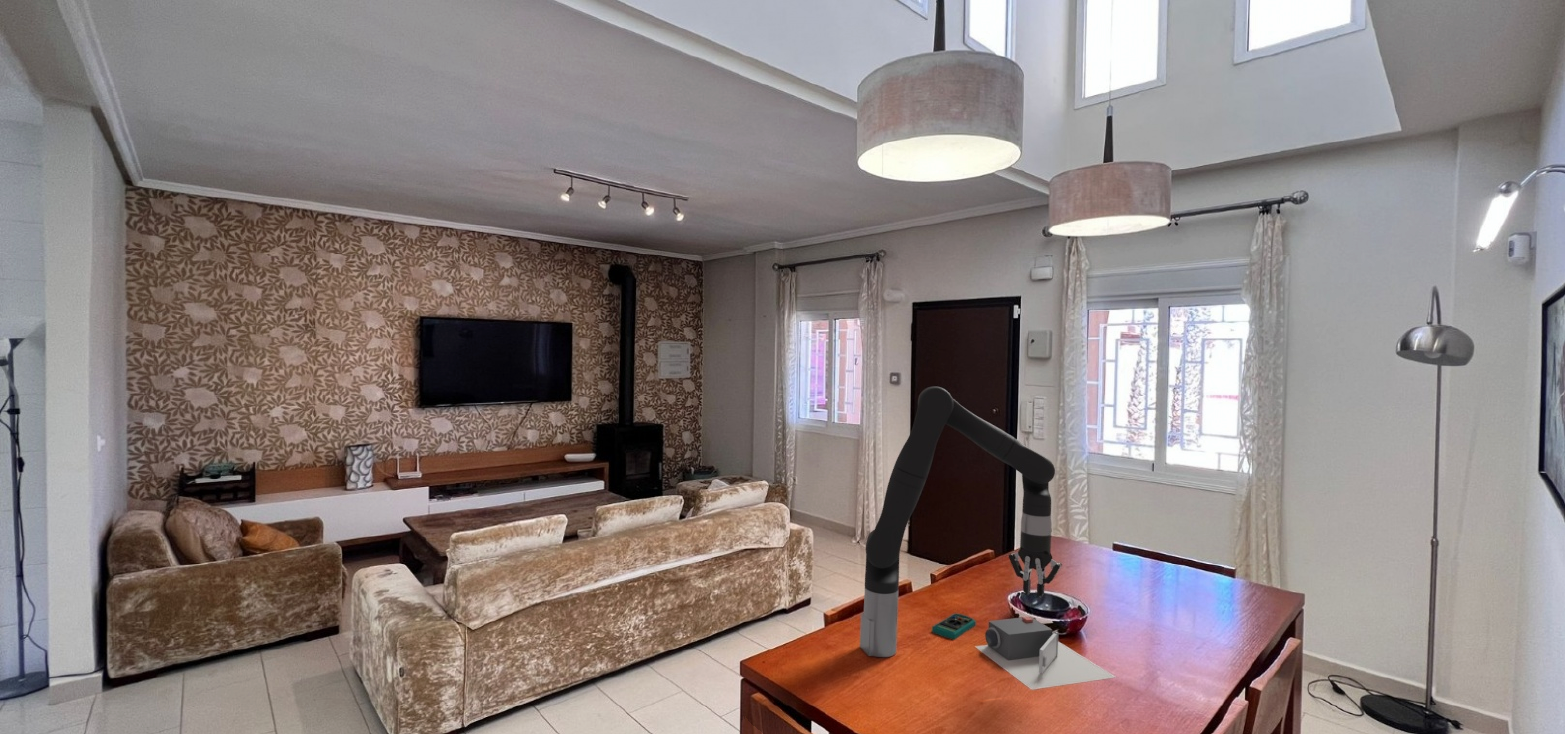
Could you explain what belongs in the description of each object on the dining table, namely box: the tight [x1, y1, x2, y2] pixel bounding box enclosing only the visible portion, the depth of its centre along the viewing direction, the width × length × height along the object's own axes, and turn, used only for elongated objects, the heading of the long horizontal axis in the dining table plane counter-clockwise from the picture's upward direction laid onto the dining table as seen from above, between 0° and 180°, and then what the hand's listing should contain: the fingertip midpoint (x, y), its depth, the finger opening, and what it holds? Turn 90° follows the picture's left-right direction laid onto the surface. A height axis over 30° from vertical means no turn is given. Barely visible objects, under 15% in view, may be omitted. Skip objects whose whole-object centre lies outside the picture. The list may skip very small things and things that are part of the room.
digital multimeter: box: [931, 612, 977, 640], centre depth 191 cm, size 7×15×3 cm, turn 138°
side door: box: [1039, 630, 1059, 673], centre depth 169 cm, size 14×2×6 cm, turn 142°
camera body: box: [984, 616, 1053, 660], centre depth 177 cm, size 16×9×8 cm, turn 107°
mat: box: [974, 640, 1116, 691], centre depth 172 cm, size 26×24×1 cm
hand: (1033, 595), depth 169 cm, fingers open, 2 cm apart
